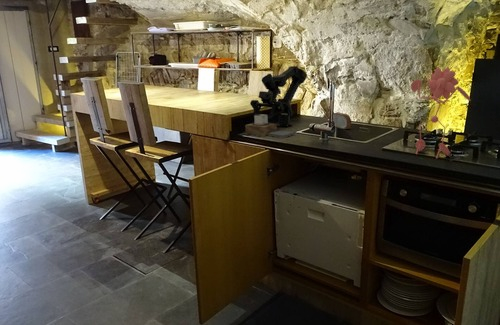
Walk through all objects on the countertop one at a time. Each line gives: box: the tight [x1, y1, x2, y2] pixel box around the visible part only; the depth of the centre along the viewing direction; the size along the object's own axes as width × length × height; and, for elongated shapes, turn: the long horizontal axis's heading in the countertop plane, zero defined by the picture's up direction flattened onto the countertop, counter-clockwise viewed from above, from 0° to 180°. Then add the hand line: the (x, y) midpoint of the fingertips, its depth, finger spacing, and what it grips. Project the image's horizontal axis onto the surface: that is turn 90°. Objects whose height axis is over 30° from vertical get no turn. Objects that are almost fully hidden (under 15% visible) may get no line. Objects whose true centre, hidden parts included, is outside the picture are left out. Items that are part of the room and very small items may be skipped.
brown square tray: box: [244, 122, 278, 137], centre depth 217 cm, size 12×12×5 cm
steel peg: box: [253, 113, 269, 126], centre depth 216 cm, size 5×5×8 cm
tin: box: [332, 111, 352, 130], centre depth 226 cm, size 15×3×8 cm, turn 25°
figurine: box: [410, 67, 471, 162], centre depth 164 cm, size 15×26×35 cm, turn 34°
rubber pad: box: [268, 129, 296, 139], centre depth 211 cm, size 10×10×2 cm
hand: (261, 118), depth 216 cm, fingers open, 9 cm apart
